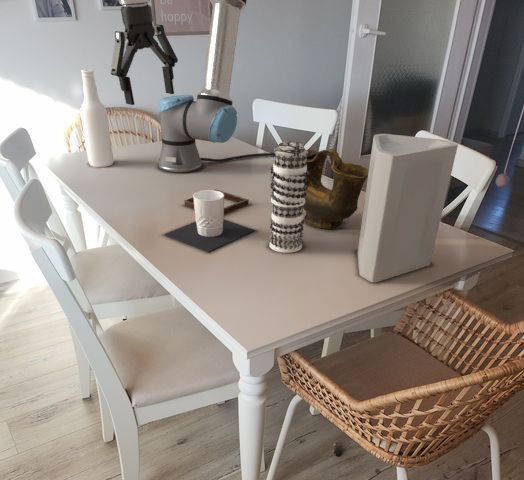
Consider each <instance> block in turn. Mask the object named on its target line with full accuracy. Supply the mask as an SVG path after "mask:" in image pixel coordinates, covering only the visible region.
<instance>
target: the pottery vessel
mask: <svg viewBox="0 0 524 480" xmlns="http://www.w3.org/2000/svg"><path fill="white" fill-rule="evenodd" d="M306 150H307V151H308V153H307V162H306V164H307V170H308V171H309V175H307V176H305V177H307V178H308V180H309V181H308V182H306V183H304V185H306V186H307V188H308V189H307V190H305V191H304V192H306V193H307V196H306V197H304V198H305V204H304V205H303V211H305V216H304V222H306V223H307V224H308V225H309V226H312V227H315V228H317V229H324V230H333V229H335V228H336V227H340V226H342V222H344V220H346V219H349V218H350V217H351V216H352V215H353V214H355V212H356V211H358V210H357V209H358V203H359V198H360V195H361V192H362V189H363V187H364V184H365V182H366V181H367V179H368V173H369V169H368V168H367V167H364V166H362V165H360V164H355V163H351V162H350V163H349V162H348V163H347V162H344V161H343V160H342V158H341V156H340V154H339V152H337V150H336V149H333V148H329V149H322V150H319V151H317V150H314V149H306ZM328 157H329V159H330V170H331V171H332V176H333V180H332V181H333V182H332V188H331V189H330V188H328V187H326V186H325V185H323V182H322V178H323V177H322V176H323V169H324V165H325V162H326V159H327V158H328Z"/></svg>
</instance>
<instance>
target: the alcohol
mask: <svg viewBox="0 0 524 480" xmlns="http://www.w3.org/2000/svg"><path fill="white" fill-rule="evenodd" d="M80 72H81V78H82V89H83V102H82V103H81V105H80V111H79V113H80V120H81V125H82V126H81V127H82V132H83V136H84V143H85V148H86V155H87V160H88V164H89V165H90V167H95V168H106V167H111V166H112V165H114V161H115V159H114V152H113V144H112V138H111V129H110V123H109V116H108V111H107V108H106V106H105V105H104V103H103V102H102V101H101V100H100V98H99V92H98V89H97V84H96V79H95V73H94V72H95V71H94V70H93V69H91V68H90V69H88V68H87V69H84V68H83V69H81V70H80Z"/></svg>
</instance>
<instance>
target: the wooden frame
mask: <svg viewBox="0 0 524 480" xmlns="http://www.w3.org/2000/svg"><path fill="white" fill-rule="evenodd" d="M213 190H214V191H219V192H222V193H223V194H224V199H226V200H229V201H232V202H234V203H232V204H231V205H228V206H224V215H227V214H229V213H231V212H234V211H237V210H239V209H241V208H244V207H247V206H249V204H250V203H249V201H250V200H249V199H248V198H245V197H241V196H239V195H235V194H232V193H230V192H229V193H228V192H226V191H222V190H219V189H213ZM183 201H184V206H185V207H188V208H190V209H194V198H193V197H191V198H188V199H187V198H186V199H184V200H183ZM194 210H195V209H194Z"/></svg>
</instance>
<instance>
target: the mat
mask: <svg viewBox="0 0 524 480" xmlns="http://www.w3.org/2000/svg"><path fill="white" fill-rule="evenodd" d="M253 232H255V229H252V228H250V227H247V226H244V225H241V224H238V223H235V222H233V221H231V220H230V221H229V220H226V219H224V218H223V232H222V234H220V235H218V236H214V237H206V236H202V235H200V234H198V232H197V223H196V221H193V222H191V223H189V224H186V225H184V226H181V227H178V228H176V229H174V230H171V231H168V232H166V233H164V236H166V237H168V238H171V239H174V240H176V241H178V242H182V243H183V244H187V245H189V246H192V247H194V248H196V249H199V250H201V251H204V252H206V253H211V252H212V251H215V250H218V249H219V248H222V247H224V246H226V245H228V244H230V243H232V242H235V241H236V240H238V239H240V238H243V237H245V236H247V235H249V234H252V233H253Z"/></svg>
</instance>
